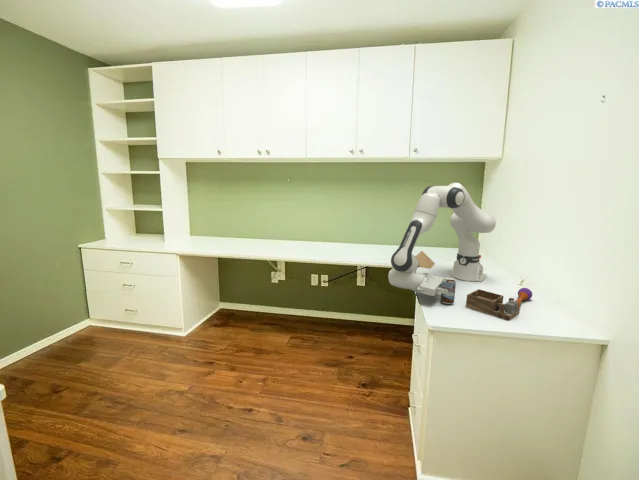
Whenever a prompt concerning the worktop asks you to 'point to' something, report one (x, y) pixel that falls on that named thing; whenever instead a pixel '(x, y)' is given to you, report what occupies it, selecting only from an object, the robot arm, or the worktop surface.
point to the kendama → (523, 295)
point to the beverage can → (450, 285)
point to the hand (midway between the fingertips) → (450, 288)
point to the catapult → (492, 304)
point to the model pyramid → (424, 260)
